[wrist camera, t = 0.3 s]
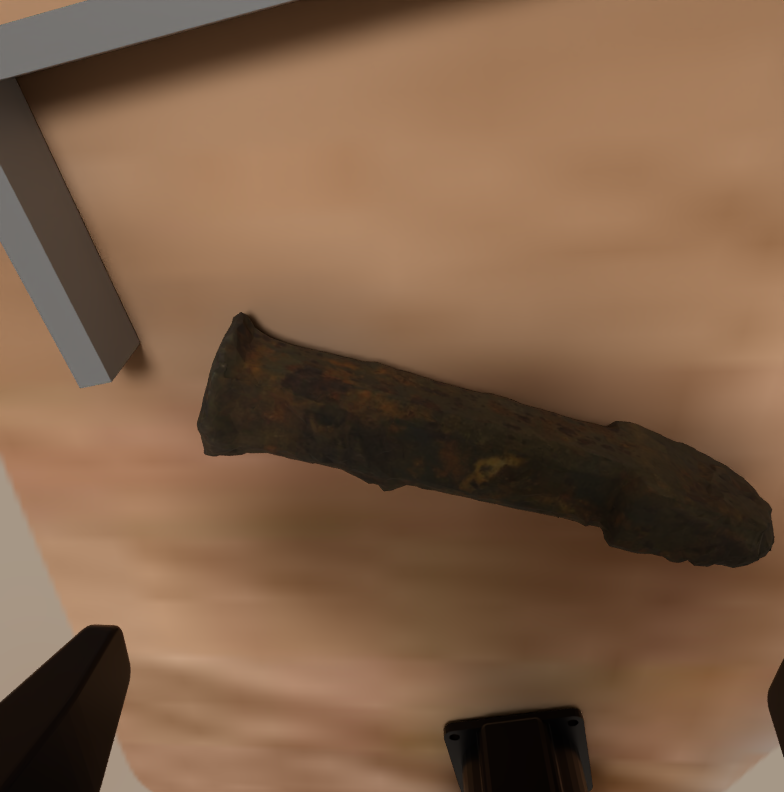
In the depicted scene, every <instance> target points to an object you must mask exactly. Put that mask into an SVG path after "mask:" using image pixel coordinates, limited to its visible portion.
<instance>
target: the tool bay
mask: <svg viewBox="0 0 784 792" xmlns="http://www.w3.org/2000/svg"><path fill="white" fill-rule="evenodd" d="M295 1H299V0H87V1H83V2H80V3H76V4H73V5H69V6H66V7H62V8H59V9H55V10H52V11H48V12H44V13H41V14H37V15H34V16H30V17H27V18H23V19H20V20H16V21H13V22H9V23H6V24H2V25H0V242H1V244H2V245H3V247H4V249H5V251H6V253H7V255H8V256H9V258H10V260H11V262H12V264H13V266H14V267H15V269H16V271H17V273H18V275H19V277H20V279H21V280H22V282H23V284H24V286H25V288H26V290H27V291H28V293H29V295H30V297H31V299H32V301H33V302H34V304H35V306H36V308H37V310H38V312H39V313H40V315H41V317H42V319H43V321H44V323H45V325H46V326H47V328H48V330H49V332H50V334H51V336H52V337H53V339H54V341H55V343H56V345H57V347H58V348H59V350H60V352H61V354H62V356H63V358H64V359H65V361H66V363H67V365H68V367H69V369H70V371H71V372H72V374H73V376H74V378H75V380H76V382H77V383H78V385H79V387H80V388H84V387H89V386H94V385H99V384H104V383H109V382H112V381H113V379H114V378H115V377H116V375H117V374H118V373H119V371H120V370H121V369H122V367H123V366H124V364H125V363H126V362H127V360H128V359H129V358H130V356H131V355H132V354H133V352H134V351H135V349H136V348H137V347H138V345H139V344H140V342H139V340H138V338H137V335H136V333H135V331H134V329H133V327H132V325H131V323H130V321H129V318H128V316H127V314H126V312H125V310H124V308H123V306H122V304H121V301H120V299H119V297H118V295H117V293H116V291H115V289H114V287H113V285H112V282H111V280H110V278H109V276H108V274H107V272H106V270H105V268H104V265H103V263H102V261H101V259H100V257H99V255H98V253H97V251H96V248H95V246H94V244H93V242H92V240H91V238H90V236H89V234H88V231H87V229H86V227H85V225H84V223H83V221H82V219H81V217H80V214H79V212H78V210H77V208H76V206H75V204H74V202H73V200H72V198H71V195H70V193H69V191H68V189H67V187H66V185H65V183H64V181H63V178H62V176H61V174H60V172H59V170H58V168H57V166H56V164H55V161H54V159H53V157H52V155H51V153H50V151H49V149H48V147H47V144H46V142H45V140H44V138H43V136H42V134H41V132H40V130H39V127H38V125H37V123H36V121H35V119H34V117H33V115H32V113H31V111H30V108H29V106H28V104H27V102H26V100H25V98H24V96H23V94H22V91H21V89H20V87H19V85H18V83H17V81H16V79H15V77H19V76H23V75H26V74H30V73H34V72H37V71H41V70H45V69H48V68H52V67H56V66H59V65H63V64H67V63H71V62H74V61H78V60H82V59H85V58H89V57H93V56H96V55H100V54H104V53H107V52H111V51H115V50H118V49H122V48H126V47H130V46H133V45H137V44H141V43H144V42H148V41H152V40H155V39H159V38H163V37H166V36H170V35H174V34H177V33H181V32H185V31H189V30H192V29H196V28H200V27H203V26H207V25H211V24H214V23H218V22H222V21H225V20H229V19H233V18H236V17H240V16H244V15H248V14H251V13H255V12H259V11H262V10H266V9H270V8H273V7H277V6H281V5H284V4H288V3H292V2H295Z"/></svg>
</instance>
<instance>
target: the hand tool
mask: <svg viewBox="0 0 784 792" xmlns="http://www.w3.org/2000/svg"><path fill="white" fill-rule="evenodd" d="M197 428H198V431H199V433H200V435H201V439H202V443H203V447H204V454H205V455H209V456H219V455H225V456H233V455H242V454H245V453H270V454H274V455H278V456H283V457H286V458H290V459H294V460H299V461H304V462H308V463H312V464H313V463H317V464H321V465H325V466H329V467H333V468H338V469H342V470H344V471H346V472H348V473H350V474H352V475H354V476H356V477H358V478H360V479H362V480H364V481H365V482H367V483H368V484H373V483H374V484H377V485H379V486H380V487H381V489H382V490H383V491H391V490H394V489H396V488H399V487H402V486H405V485H411V486H417V487H419V488H422V489H427V490H435V491H439V492H443V493H447V494H452V495H457V496H462V497H467V498H471V499H475V500H478V501H483V502H488V503H493V504H498V505H502V506H506V507H511V508H515V509H520V510H525V511H531V512H536V513H541V514H546V515H551V516H556V517H558V518H559V517H562V518H566V519H569V520H572V521H576V522H578V523H580V524H582V525H584V526H588V525H591V526H596V527H600V528H601V529H602V530H603V534H604V539H605V540H606V542H607V543H608V545H609V546H611V547H615V548H619V549H623V550H626V551H630V552H634V553H640V554H654V555H658V556H663V557H665V558H666V559H667V560H669V561H671V562H676V563H679V562H684V561H686V560H688V561H689V562H690V563H692V564H693V565H694V566H706V567H709V566H711V565H713V564H717V565H724V566H728V567H731V568H735V567H740V566H745V565H749V564H751V563H753V562H755V561H758V560H759V558H762V557H764V556H766V554H767V553H768V552H769V551H771V547H772V545H773V543H774V533H773V526H772V520H771V512H772V509H771V507H770V505H769V504H768V503H767V502H766V501H765V500H763V499H762V498H761V497H760V496H759V495H758V493H757V492H756V490H755V489H754V488H753V487H752V486H751V485H750V484H749V483H748V482H747V481H746V480H745V479H744V478H742V477H741V476H740V475H738V474H737V473H735V472H734V471H732V470H731V469H730V468H729V467H727V466H726V465H724V464H722V463H720V462H718V461H715V460H714V459H713V458H711V457H709V456H707V455H705V454H703V453H701V452H699V451H696V450H695V449H694V448H692V447H690V446H688V445H686V444H683V443H677V442H675V441H672V440H670V439H668V438H665V437H663V436H662V435H660V434H657V433H655V432H653V431H651V430H648V429H646V428H644V427H642V426H639V425H637V424H634V423H630V422H623V421H615V422H613V423H612V424H611V425H609V426H608V427H603V426H600V425H597V424H592V423H586V422H582V421H578V420H575V419H572V418H568V417H565V416H562V415H559V414H556V413H552V412H549V411H545V410H541V409H538V408H534V407H530V406H527V405H523V404H520V403H518V402H516V401H514V400H512V399H508V398H505V397H501V396H498V395H494V394H488V393H479V392H474V391H470V390H466V389H463V388H459V387H456V386H452V385H448V384H444V383H440V382H437V381H434V380H431V379H428V378H425V377H421V376H418V375H415V374H412V373H409V372H405V371H401V370H396V369H394V368H391V367H388V366H386V365H383V364H380V363H378V362H362V361H358V360H354V359H350V358H347V357H340V356H338V355H334V354H329V353H325V352H321V351H316V350H312V349H308V348H303V347H299V346H295V345H291V344H288V343H285V342H282V341H279V340H276V339H273V338H271V337H269V336H267V335H265V334H264V333H262V332H260V331H259V330H258V329H256V328H255V327H254V325H253V324H252V322H251V320H250V319H249V317H248V316H247V315H246V314H244V313H242V312H240V313H239V314H238V315H236V316H235V317H234V318H233V321H232V324H231V326H230V328H229V329H228V331H227V333H226V334H225V336H224V338H223V340H222V342H221V344H220V346H219V349H218V351H217V353H216V356H215V358H214V361H213V364H212V367H211V370H210V374H209V378H208V383H207V386H206V390H205V394H204V397H203V402H202V408H201V411H200V415H199V418H198V421H197Z"/></svg>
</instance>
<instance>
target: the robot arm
mask: <svg viewBox="0 0 784 792" xmlns="http://www.w3.org/2000/svg"><path fill="white" fill-rule="evenodd" d="M130 673H131V667H130V661H129V657H128V653H127V649H126V644H125V640H124V636H123V632H122V630H121V629H120V627H118V626H115V625H90V626H87V627H86V628H84V629H83V630H81V631H80V632H79V633H78V634H77V635H76V636H75V637H74V638H72V639H71V640H70V641H69V642H68V643H67V644H66V645H64V646H63V647H62V648H61V649H60V650H59V651H58V652H57V653H55V654H54V655H53V656H52V657H51V658H50V659H49V660H47V661H46V662H45V663H44V664H43V665H42V666H41V667H40V668H39V669H37V670H36V671H35V672H34V673H33V674H32V675H30V677H28V678H27V679H26V680H25V681H24V682H23V683H22V684H20V685H19V686H18V687H17V688H16V689H15V690H14V691H12V692H11V693H10V694H9V695H8V696H7V697H6V698H5V699H3V700H2V701H1V702H0V792H100V788H101V785H102V781H103V778H104V774H105V770H106V767H107V763H108V759H109V756H110V751H111V748H112V744H113V741H114V737H115V733H116V730H117V726H118V722H119V719H120V715H121V711H122V708H123V704H124V700H125V696H126V693H127V689H128V685H129V681H130ZM767 697H768V708H769V712H770V715H771V718H772V721H773V724H774V728H775V731H776V734H777V737H778V741H779V744H780V747H781V750H782V754H783V757H784V659H783V661H782V663H781V665H780V667H779V669H778V671H777V673H776V675H775V677H774V679H773V681H772V683H771V686H770V688H769V690H768V696H767ZM444 740H445V743H446V746H447V749H448V752H449V755H450V759H451V762H452V765H453V768H454V771H455V774H456V777H457V780H458V784H459V787H460V790H461V792H589V791H591V790H592V788H593V785H592V778H591V770H590V763H589V756H588V748H587V741H586V734H585V727H584V720H583V716H582V713H581V711H580V710H578V709H575V708H569V709H561V710H553V711H545V712H537V713H529V714H521V715H513V716H505V717H497V718H489V719H481V720H473V721H465V722H457V723H450V724H448V725H446V726H445V727H444Z"/></svg>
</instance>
